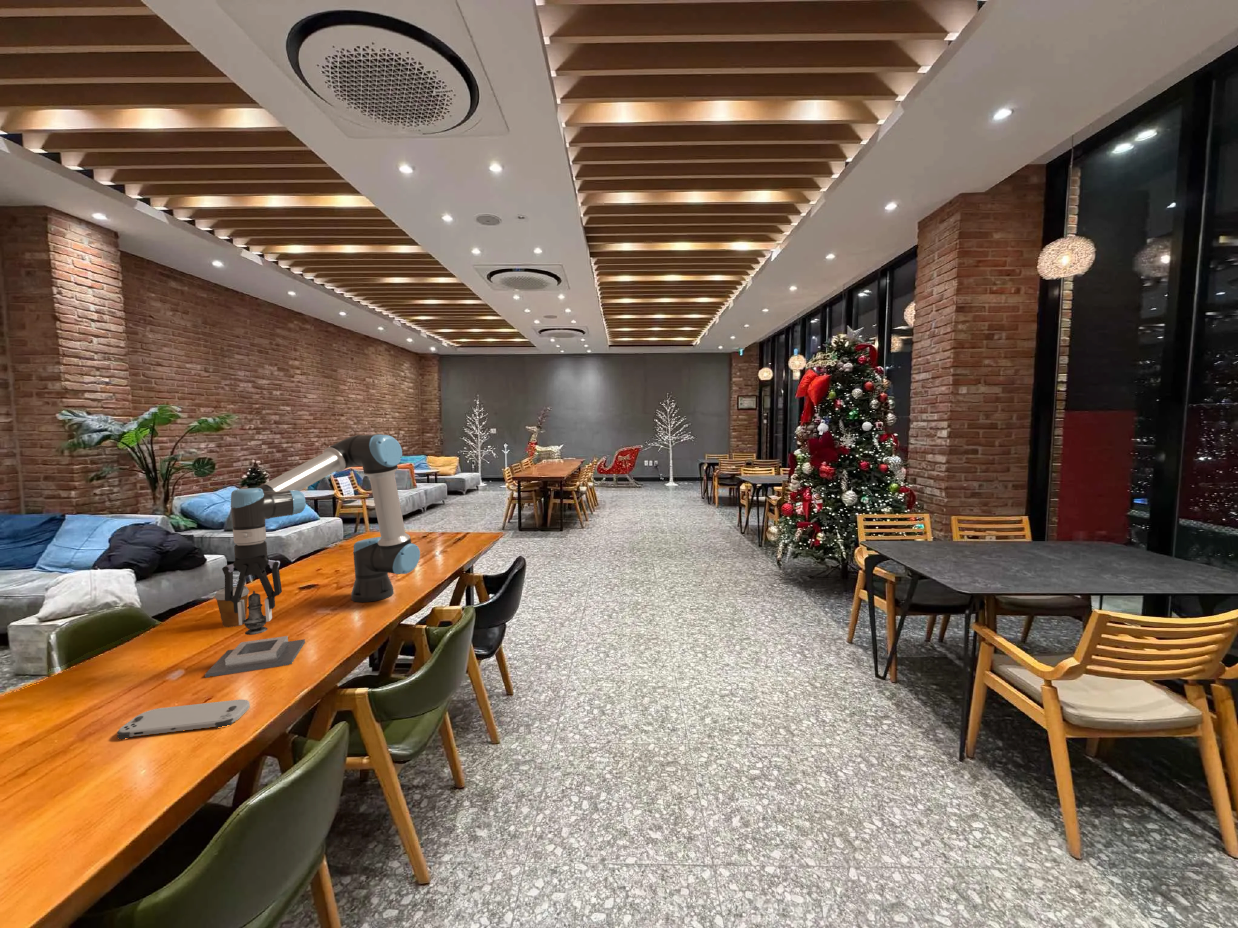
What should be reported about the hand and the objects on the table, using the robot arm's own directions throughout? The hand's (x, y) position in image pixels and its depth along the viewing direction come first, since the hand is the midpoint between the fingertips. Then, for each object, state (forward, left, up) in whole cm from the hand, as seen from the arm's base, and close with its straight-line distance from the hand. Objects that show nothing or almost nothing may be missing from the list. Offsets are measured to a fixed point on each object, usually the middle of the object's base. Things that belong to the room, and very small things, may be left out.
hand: (255, 621), depth 146 cm
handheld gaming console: (+5, +32, -12) cm, 34 cm away
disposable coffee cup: (+17, -36, -11) cm, 41 cm away
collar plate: (0, 0, -11) cm, 11 cm away
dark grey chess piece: (0, 0, -3) cm, 3 cm away
